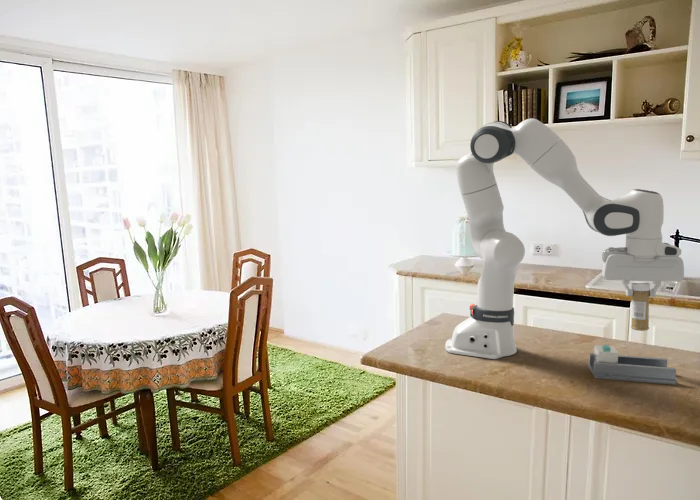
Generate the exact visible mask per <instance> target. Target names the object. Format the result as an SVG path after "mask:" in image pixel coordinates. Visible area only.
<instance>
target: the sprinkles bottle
mask: <svg viewBox="0 0 700 500" xmlns="http://www.w3.org/2000/svg"><path fill="white" fill-rule="evenodd" d="M630 289H632V290H633V296H631V315H630V317H631V326H630V329H632V330H635V331H641V332H642V331H643V332H645V331H648V330H649V329H650V326H649V320H650V319H649V318H650V308H649V307H650V297H649V290H650V289H651V285H650V283H649V282H647V281H633V282H632V283H631V288H630Z"/></svg>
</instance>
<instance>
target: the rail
mask: <svg viewBox="0 0 700 500" xmlns="http://www.w3.org/2000/svg"><path fill="white" fill-rule="evenodd" d="M593 348H594V351H593V353H591V352H590V353H589V355H588V364H587V365H588V366H587V367H588V368H589V370H590V372H591V373H592V376H593V378H594V379H600V380H611V381H612V380H613V381H614V380H615V381H627V382H636V383H650V384H660V385H663V384H664V385H672V386H673V385H675V386H677V380H676V377H677V369H676V367H668V359H667V358H665V357H664V358H663V357H662V358H661V357H648V356H633V355H622V354H621V355H619V352H618V351H617V349H616V347H614V345H609V344H602V345H601V344H600V345H599V344H594V347H593Z"/></svg>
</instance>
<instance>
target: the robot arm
mask: <svg viewBox="0 0 700 500" xmlns="http://www.w3.org/2000/svg"><path fill="white" fill-rule="evenodd" d="M469 145H470V147H469V148H470V151H471V152H470V153H468V154H467V153H466V154H465V155H463V156H462V157H460V158H459V159H458V160H457V163H456V165H455V166H456V176H457V183H458V187H459V190H460V191H459V192H460V194H461V198H462V200H463V204H464V206H465V209H466V210H465V211H466V214H467V216H468V217H467V218H468V223H469V231H470V236H471V238H470V239H471V247H472V250H473V252H474V254H475V255H476V256H477V258H479V259H481V260H483V265H482V266H483V267H482V270H481V274H480V278H479V279H478V281H477V296H476V299H477V300H476V302H477V303H476V305H475V303H471V304H470V305H469V311H470V313H469V315H470V316H469V317H467V318H466V319H465V320H463V321H462V322H460V323H459V324H457V325H456V326H455V328H454V329H453V332H452V335H451V336H452V337H449V338H448V339H447V340H446V342H445V343H444V344H445V345H444V349H445V350H446V352H448V353H450V354H456V355H463V356H469V357H478V358H484V359H492V360H499V359H500V358H503V357H509V356H512V355H514V354H516V353H517V352H518V351H517V346H516V341H515V335H514V324H515V308H514V292H515V291H514V290H515V288H514V287H515V280H516V276H517V273H518V268H519V267H520V263H521V262H522V261H523V259H524V257H525V252H526V249H525V245H524V243H523V242H522V240H521V239H520V238H519V237H518V236H517V235H516V234H514V233H512V232H509V231H506V229H505V226H504V215H503V213H504V209H505V208H504V204H503V200H502V197H501V193H500V190H499V187H498V183H497V181H496V180H497V179H496V176H495V172H494V165H495V163H497V162H500V161H502V160H504V159H506V158H507V157H509V156H511V155H513V154H514V155H517V156H519V157H520V158H521V159H522V160H524V162H526V164H527V165H529V167H530V168H531V169H532V170H533V171H534V172H535V173H537V174H538V175H539V176H540V177H542V178H543V179H544V180H546V181H548V182H549V183H551V184H553V185H555V186H556V187H558V188H560V189H562V190H563V191H564V192H565V193H566V194H567V195H568V196H569V198H571V199H572V200H573V202H574V203H576V205H577V206H578V207H579V208H580V210H582V212H583V215H584V218H585V221H586V224H587V225H588V227H589V228H590V229H591V230H592V231H594V232H597V233H599V234H601V235H603V236H606V237H616V236H620V235H625V247H621V246H620V247H614V246H613V247H612V246H611V247H608V248H606V249H604V250H603V252H602V261H603V262H602V263H603V265H602V270H601V277H603V278H604V279H605V280H606V281H621V283H622V285H623V287H624V288H625V296H627V297H632V296H633V290H632V289H631V288H630V287H629V285H630V281H631V282H632V281H633V282H652V283H653V286H652V288H650V290H649V298H651V297H654V298H655V297H656V295H657V294H656V293H657V291H658V289H659V288H660V287H661V286H662V282H671V283H673V282H674V283H675V282H677V283H678V282H682V281H683V279H684V277H685V266H684V261H683V258H682V257H680V256H681V255H682V249H681V248H680V247H677V246H676V245H672V244H670V243H668V242H663V234H662V227H663V224H664V217H665V216H664V214H665V213H664V210H665V209H664V199H663V195H661V194H660V193H659V192H657V191H653V190H646V189H640V188H635V189H632V190H630V192H628V193H626V194H624V195H622V196H619V197H618V198H615V199H612V200H611V199H608V198H607V197H606V198H605V197H603V195H602V196H601V195H600V194H599V193H598V192H597V191H596V190H595V188H594V187H593V186H592V185H590V184H589V182H588V181H587V180H586V179H584V177H583V176H582V174H581V173H580V171H579V169H578V165H577V158H576V156H575V155H574V153H573V151H572V150H571V148H570V147H569V145H567V143H566V142H565V141H564V140H563V139H562V138H561V137H560V136H559V134H557V133H556V132H555V131H553V130H552V129H551V128H550V127H549V126H547V125H546V124H545V123H543V122H542V121H540V120H538V119H537V118H531V117H530V118H527V119H524V120H523V121H521V122H519V123H518V124H517V125H515V127H512V126H511V125H510V124H509V123H508V122H506V121H501V120H496V121H492V122H488V123H486V124H484V125H482V126H481V127H480V128H479V129H478V130H476V131H475V132H474V133H473V135H472V137H471V140H470V144H469Z"/></svg>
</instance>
